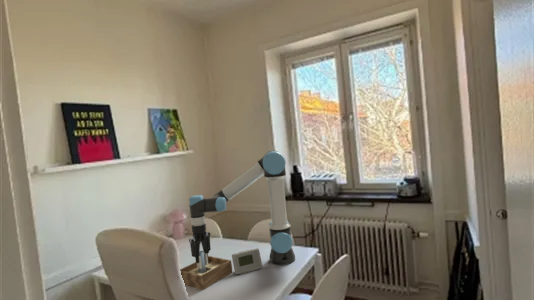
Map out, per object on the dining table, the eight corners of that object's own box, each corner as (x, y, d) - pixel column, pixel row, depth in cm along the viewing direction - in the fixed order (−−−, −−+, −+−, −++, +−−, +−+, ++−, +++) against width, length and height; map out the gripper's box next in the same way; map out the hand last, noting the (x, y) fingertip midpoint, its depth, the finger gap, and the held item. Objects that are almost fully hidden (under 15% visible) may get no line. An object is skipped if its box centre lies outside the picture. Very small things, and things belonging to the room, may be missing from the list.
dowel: (208, 276, 176) (205, 251, 176) (202, 279, 173) (199, 253, 173) (203, 275, 179) (200, 250, 178) (197, 278, 176) (194, 252, 175)
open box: (232, 272, 178) (231, 260, 178) (202, 290, 160) (200, 276, 160) (209, 267, 189) (208, 255, 188) (179, 283, 171) (177, 270, 171)
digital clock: (234, 276, 174) (232, 256, 173) (233, 269, 183) (231, 251, 182) (263, 270, 176) (261, 251, 176) (261, 264, 185) (259, 246, 185)
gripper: (205, 219, 183) (209, 259, 184) (181, 227, 170) (185, 271, 171) (214, 220, 179) (218, 261, 180) (190, 229, 165) (195, 274, 166)
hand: (202, 266), depth 175 cm, fingers closed on dowel, 4 cm apart
